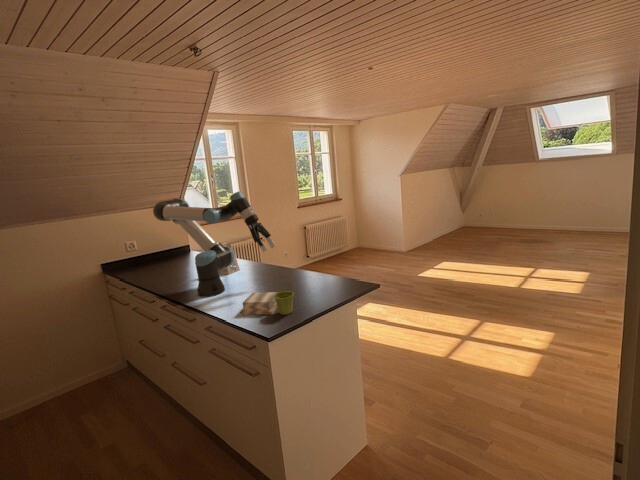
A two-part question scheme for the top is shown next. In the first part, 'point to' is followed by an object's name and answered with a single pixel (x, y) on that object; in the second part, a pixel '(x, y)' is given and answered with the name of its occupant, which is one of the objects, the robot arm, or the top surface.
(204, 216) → the robot arm
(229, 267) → the grater
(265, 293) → the pedestal base
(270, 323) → the top surface
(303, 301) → the top surface
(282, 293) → the plant pot
